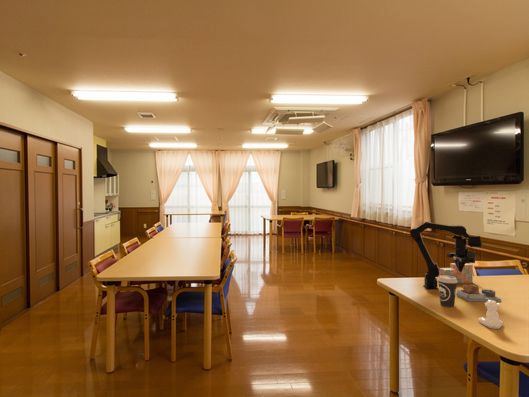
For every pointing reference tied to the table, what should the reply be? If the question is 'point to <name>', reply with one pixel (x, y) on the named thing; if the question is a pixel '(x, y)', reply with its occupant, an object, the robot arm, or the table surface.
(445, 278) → the coffee cup
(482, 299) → the light gray tray
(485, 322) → the sitting furry creature
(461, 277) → the stack of blocks
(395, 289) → the table surface
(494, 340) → the table surface
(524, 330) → the table surface
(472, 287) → the brown wooden block
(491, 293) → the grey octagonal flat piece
